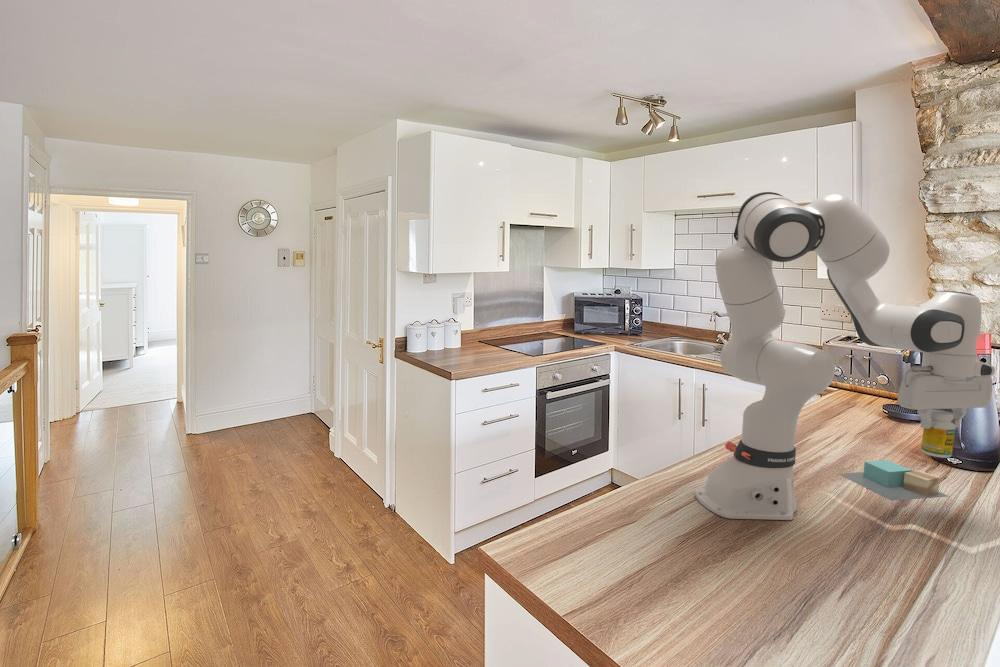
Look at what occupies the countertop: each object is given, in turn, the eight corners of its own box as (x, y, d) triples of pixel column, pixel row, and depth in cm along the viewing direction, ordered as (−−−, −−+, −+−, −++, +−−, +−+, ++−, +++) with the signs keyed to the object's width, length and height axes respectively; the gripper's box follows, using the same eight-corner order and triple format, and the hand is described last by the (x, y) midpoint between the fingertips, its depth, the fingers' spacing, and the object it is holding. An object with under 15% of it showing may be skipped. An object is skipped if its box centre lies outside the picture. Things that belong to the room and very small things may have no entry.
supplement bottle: (925, 447, 120) (931, 407, 118) (955, 455, 115) (961, 413, 114) (916, 452, 117) (921, 410, 115) (946, 460, 112) (952, 417, 111)
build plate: (890, 505, 123) (891, 500, 123) (837, 478, 139) (837, 473, 138) (948, 500, 125) (949, 496, 125) (889, 474, 141) (890, 470, 141)
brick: (925, 496, 125) (927, 480, 125) (902, 488, 130) (904, 472, 129) (938, 492, 127) (940, 477, 126) (915, 485, 132) (917, 469, 131)
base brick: (887, 487, 130) (888, 472, 130) (863, 476, 137) (864, 461, 136) (910, 485, 131) (912, 470, 131) (885, 474, 138) (887, 460, 138)
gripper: (920, 369, 109) (912, 433, 110) (1002, 368, 112) (993, 430, 114) (893, 363, 115) (886, 424, 116) (971, 362, 118) (963, 421, 120)
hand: (939, 427), depth 115 cm, fingers closed on supplement bottle, 5 cm apart
